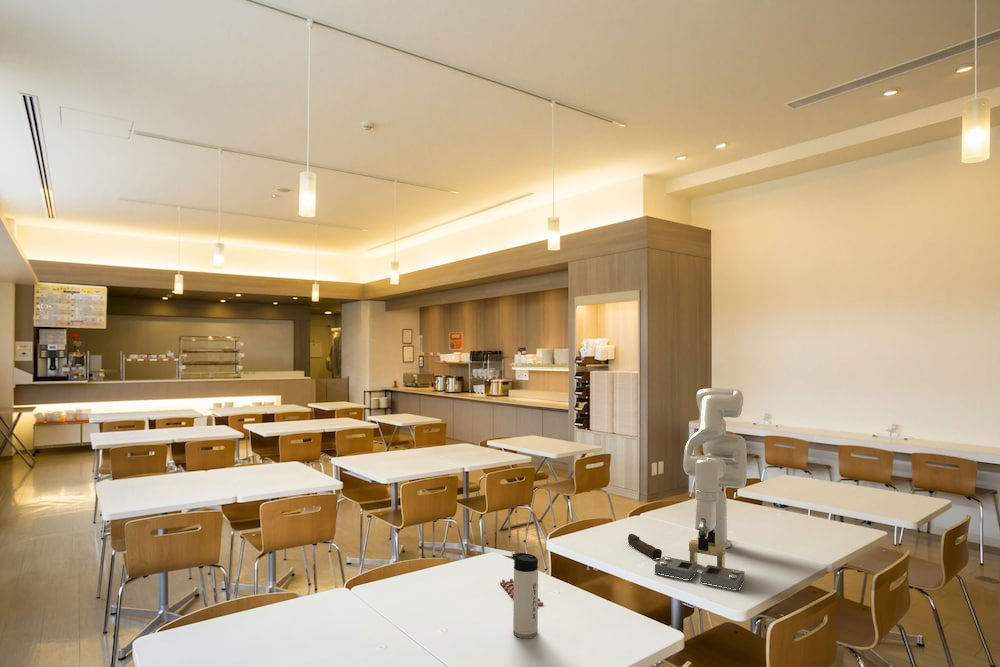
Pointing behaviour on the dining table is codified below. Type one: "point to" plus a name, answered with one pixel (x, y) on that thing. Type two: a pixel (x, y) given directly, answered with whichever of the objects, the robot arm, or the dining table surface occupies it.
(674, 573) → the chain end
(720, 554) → the link
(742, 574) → the block
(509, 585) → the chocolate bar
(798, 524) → the dining table surface
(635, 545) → the dark brown rod
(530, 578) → the travel mug
